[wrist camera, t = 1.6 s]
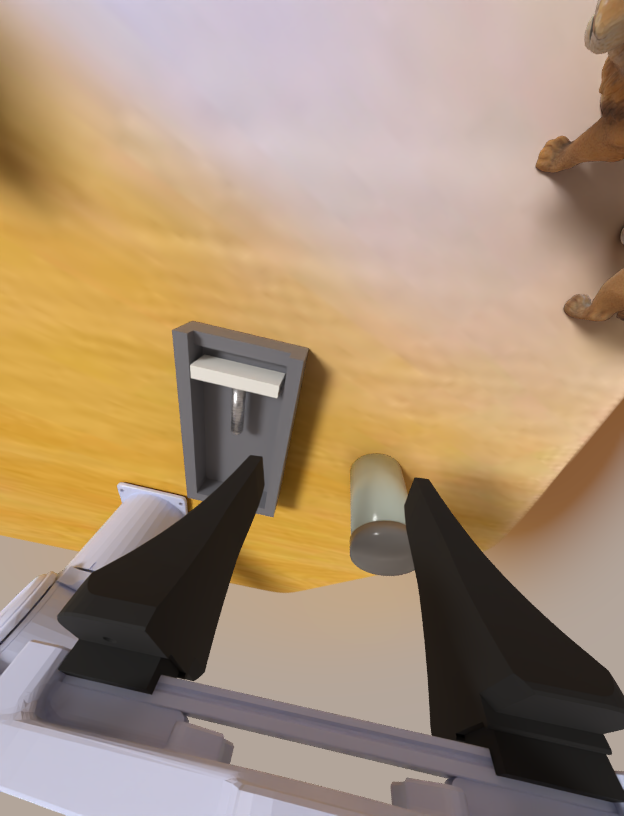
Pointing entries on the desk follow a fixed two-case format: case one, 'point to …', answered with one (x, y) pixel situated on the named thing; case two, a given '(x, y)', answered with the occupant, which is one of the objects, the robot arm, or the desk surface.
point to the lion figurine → (598, 143)
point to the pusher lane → (211, 408)
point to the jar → (379, 516)
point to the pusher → (238, 382)
